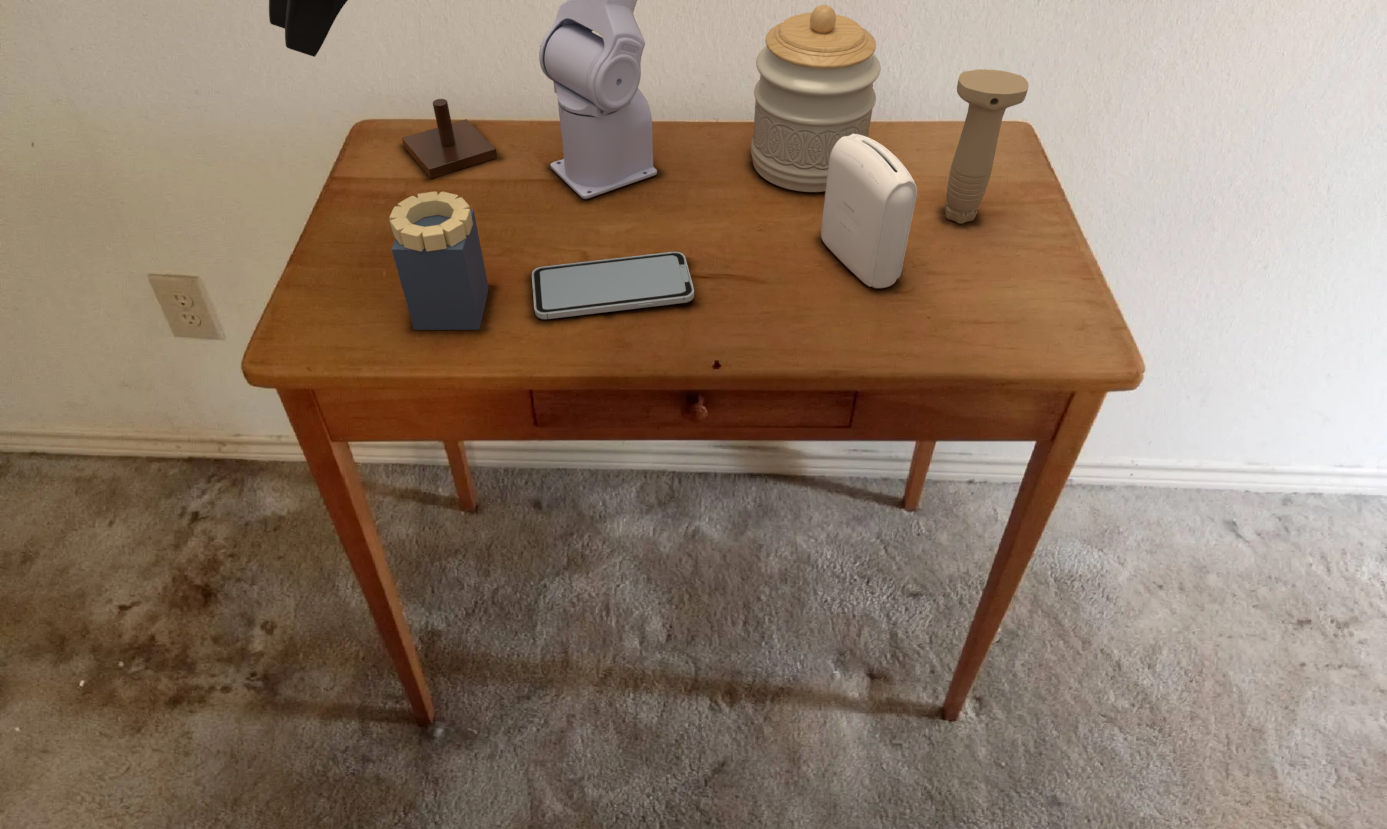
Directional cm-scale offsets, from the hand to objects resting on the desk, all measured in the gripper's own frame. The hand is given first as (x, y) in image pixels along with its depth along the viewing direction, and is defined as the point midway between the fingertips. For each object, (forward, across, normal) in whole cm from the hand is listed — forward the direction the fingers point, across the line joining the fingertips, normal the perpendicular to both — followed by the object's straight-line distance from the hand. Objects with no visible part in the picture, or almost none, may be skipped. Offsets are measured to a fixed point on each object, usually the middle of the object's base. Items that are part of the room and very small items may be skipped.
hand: (291, 39), depth 72 cm
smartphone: (+11, +9, +30) cm, 34 cm away
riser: (+18, +5, +18) cm, 26 cm away
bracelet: (+10, +6, +13) cm, 18 cm away
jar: (-5, -1, +55) cm, 55 cm away
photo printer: (0, +16, +51) cm, 54 cm away
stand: (+10, -22, +23) cm, 34 cm away
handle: (-7, +15, +63) cm, 65 cm away
